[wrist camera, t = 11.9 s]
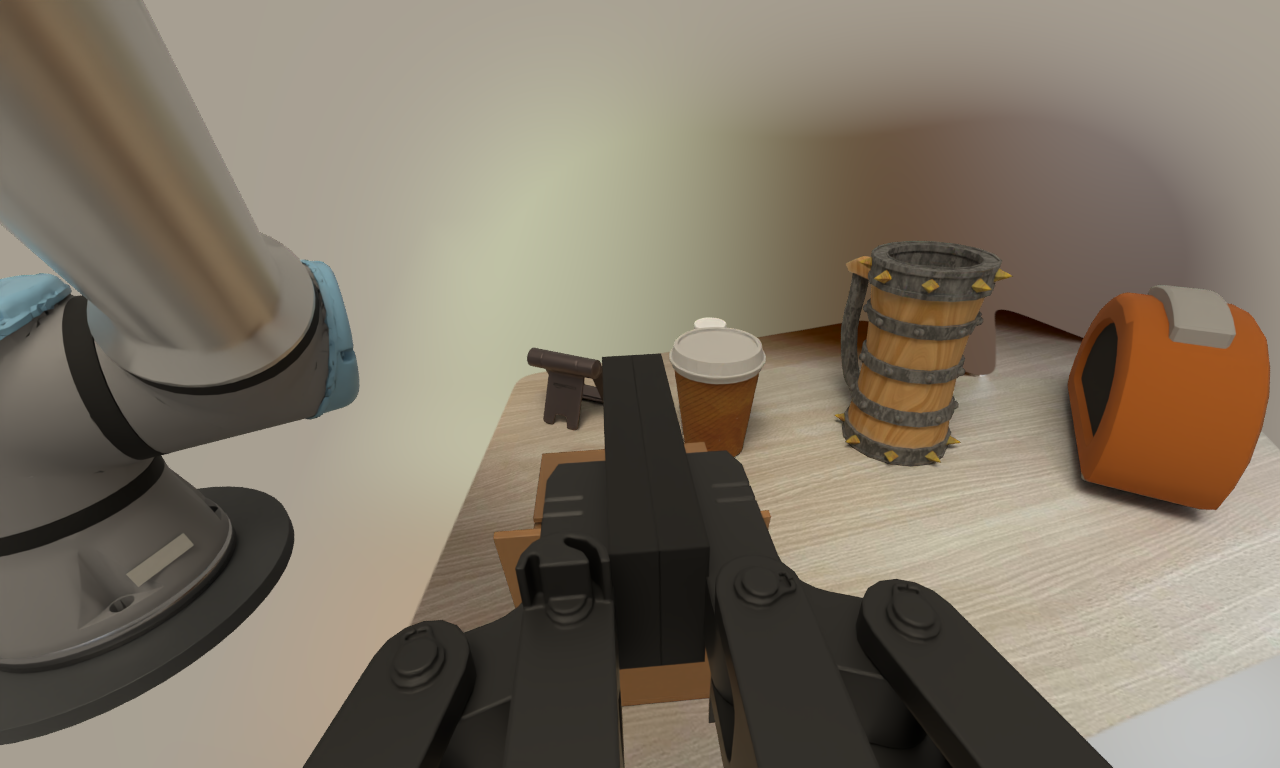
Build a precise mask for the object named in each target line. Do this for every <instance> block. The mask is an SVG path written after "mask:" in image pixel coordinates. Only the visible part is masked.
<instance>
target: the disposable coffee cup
mask: <svg viewBox="0 0 1280 768" xmlns="http://www.w3.org/2000/svg"><path fill="white" fill-rule="evenodd" d="M669 358H670V362H671V364H672V366H673V368H674V369H675V377H676V383H677V391H678V398H679V404H680V412H681V419H682V426H683V433H684V440H685V443H698V442H704V443H705V446H706V449H707V452H709V451H723V450H727V451H728V452H729V453H730V454H731V455H732V456H733V457H735V456H736V455H738V454H739V453H740V452H741V450H742V448H743V443H744V439H745V434H746V429H747V425H748V421H749V416H750V412H751V407H752V403H753V398H754V393H755V389H756V385H757V380H758V376H759V372H760V371H761V369H762V367H763V366H764V364H765V361H766V355H765V353H764V351H763V350H762V345H761V342H760V340H759V339H758V338H756V337H755V336H754V335H752V334H750V333H747V332H745V331H741V330H738V329H733V328H725V327H706V328H699V329H694V330H690V331H688V332H686V333H683V334H681V335H680V336H678V337H677V338H676V340H675V342H674V346H673V348H672V350H671V351H670V354H669Z"/></svg>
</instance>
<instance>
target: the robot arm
mask: <svg viewBox="0 0 1280 768" xmlns="http://www.w3.org/2000/svg"><path fill="white" fill-rule="evenodd" d="M0 224H1V225H2V226H3V227H5V228H6V229H7V230H8V231H9V232H10V233H11V234H13V235H14V236H15V237H16V238H17V239H18V240H20V241H21V242H22V243H23V244H24V245H25V246H26V247H28V248H29V249H30V250H31V251H32V252H33V253H35V254H36V255H37V256H38V257H39V258H40V259H42V260H43V261H44V262H45V263H46V264H47V265H48V266H50V267H51V268H52V269H53V270H54V271H55V272H56V273H58V274H59V275H60V276H61V277H62V278H63V279H65V280H66V281H67V282H68V283H69V284H70V285H71V286H73V287H74V288H75V289H76V290H77V291H78V292H80V293H81V294H82V296H73V295H71V288H70V286H69V285H67V284H64V283H63V282H62V281H61V280H60V279H59V278H58V277H57V276H54V275H51V274H43V273H39V274H36V275H21V276H14V277H9V278H4V279H0V671H3V672H8V673H36V672H43V671H49V670H54V669H59V668H63V667H66V666H70V665H74V664H77V663H80V662H83V661H86V660H89V659H92V658H94V657H97V656H100V655H102V654H105V653H107V652H109V651H112V650H114V649H116V648H119V647H121V646H123V645H125V644H127V643H129V642H131V641H133V640H135V639H137V638H139V637H141V636H142V635H144V634H146V633H148V632H149V631H151V630H153V629H155V628H156V627H158V626H159V625H161V624H163V623H164V622H166V621H167V620H169V619H170V618H172V617H173V616H175V615H176V614H178V613H179V612H180V611H182V610H183V609H184V608H186V607H187V606H188V605H190V604H191V603H192V602H193V601H194V600H196V599H197V598H198V597H199V596H200V595H201V594H202V593H203V592H205V591H206V590H207V589H208V588H209V587H210V586H211V585H212V584H213V583H214V582H215V580H216V579H217V578H218V577H219V576H220V575H221V573H222V572H223V571H224V569H225V568H226V567H227V565H228V563H229V562H230V560H231V558H232V556H233V554H234V551H235V548H236V543H237V535H236V531H235V529H234V527H233V525H232V523H231V521H230V519H229V518H228V516H227V514H226V513H225V512H224V511H223V510H222V509H221V508H220V507H219V506H218V505H217V504H216V503H215V502H213V501H212V500H210V499H208V498H206V497H204V496H203V495H202V494H201V493H200V492H199V491H198V490H197V489H196V488H195V487H193V486H192V485H191V484H190V483H188V482H187V481H186V480H184V479H183V478H182V477H180V476H179V475H178V474H176V473H175V472H174V471H173V470H171V469H170V468H169V467H168V466H167V464H166V463H165V461H164V459H163V458H162V456H161V455H164V454H169V453H171V452H175V451H179V450H183V449H187V448H191V447H195V446H199V445H203V444H207V443H211V442H214V441H219V440H222V439H226V438H230V437H234V436H238V435H242V434H246V433H250V432H254V431H258V430H262V429H266V428H270V427H273V426H277V425H281V424H285V423H289V422H293V421H297V420H301V419H314V418H317V417H320V416H321V415H323V413H326V412H329V411H332V410H336V409H339V408H343V407H345V406H347V405H349V404H350V403H352V402H353V401H354V400H355V398H356V397H357V395H358V392H359V373H358V366H357V360H356V356H355V352H354V351H353V342H352V334H351V330H350V325H349V321H348V317H347V313H346V309H345V306H344V302H343V299H342V295H341V292H340V289H339V286H338V283H337V280H336V278H335V275H334V273H333V271H332V270H331V268H330V267H329V266H328V265H326V264H325V263H324V262H320V261H308V260H300V259H299V258H298V257H297V256H296V255H295V254H294V253H293V252H292V251H291V250H290V249H289V248H287V247H286V246H284V245H283V244H282V243H280V242H278V241H277V240H275V239H273V238H271V237H269V236H267V235H265V234H263V233H260V232H259V230H258V228H257V226H256V224H255V222H254V220H253V218H252V216H251V214H250V212H249V210H248V208H247V206H246V204H245V202H244V200H243V198H242V196H241V194H240V193H239V190H238V188H237V186H236V184H235V182H234V180H233V178H232V176H231V174H230V172H229V171H228V168H227V166H226V165H225V163H224V160H223V158H222V157H221V154H220V152H219V150H218V148H217V147H216V145H215V143H214V141H213V139H212V137H211V135H210V133H209V131H208V129H207V127H206V125H205V123H204V121H203V119H202V117H201V115H200V113H199V111H198V109H197V107H196V105H195V103H194V101H193V99H192V97H191V95H190V93H189V91H188V89H187V87H186V85H185V83H184V81H183V79H182V77H181V75H180V73H179V71H178V69H177V67H176V65H175V63H174V61H173V59H172V57H171V55H170V53H169V51H168V49H167V47H166V45H165V43H164V41H163V39H162V37H161V35H160V33H159V31H158V29H157V27H156V25H155V23H154V21H153V19H152V17H151V15H150V14H149V11H148V10H147V8H146V6H145V4H144V2H143V0H0ZM602 373H603V405H604V437H605V461H591V462H577V463H562V464H558V465H557V467H556V468H555V470H554V471H553V472H552V474H551V475H550V477H549V478H548V479H547V482H546V491H545V503H544V507H543V518H542V524H541V532H540V539H538V540H536V541H534V542H532V543H531V544H530V545H529V547H528V548H527V549H526V550H525V551H524V552H523V553H522V554H521V555H520V558H519V560H518V563H517V565H516V567H515V571H516V575H517V580H518V585H519V590H520V595H521V600H522V603H521V604H520V605H519V606H518V607H517V608H516V609H514V610H513V611H512V612H510V613H509V614H507V615H506V616H504V617H502V618H500V619H498V620H496V621H494V622H492V623H489V624H486V625H484V626H481V627H478V628H476V629H473V630H470V631H468V632H465V633H463V632H462V630H461V629H460V628H459V627H458V626H457V625H455V624H452V623H449V622H446V621H443V620H436V621H423V622H420V623H418V624H415V625H412V626H409V627H407V628H405V629H403V630H402V631H400V632H399V633H397V634H396V635H394V636H393V637H392V638H390V639H389V640H387V642H386V643H385V644H384V645H383V646H382V647H381V649H380V650H379V651H378V652H377V653H376V654H375V655H374V657H373V659H372V660H371V662H370V663H369V665H368V666H367V668H366V669H365V671H364V672H363V674H362V675H361V677H360V679H359V680H358V682H357V683H356V685H355V686H354V688H353V690H352V691H351V693H350V694H349V696H348V698H347V699H346V701H345V702H344V704H343V705H342V707H341V709H340V710H339V711H338V713H337V715H336V716H335V718H334V719H333V721H332V722H331V724H330V726H329V727H328V729H327V730H326V732H325V733H324V735H323V737H322V738H321V740H320V741H319V743H318V744H317V746H316V747H315V749H314V751H313V752H312V754H311V755H310V757H309V758H308V760H307V761H306V763H305V765H304V766H303V768H625V763H624V742H623V721H622V702H621V690H620V671H619V670H621V669H632V668H643V667H654V666H665V665H676V664H687V663H698V662H705V648H706V652H707V657H708V662H709V667H710V672H711V679H710V697H709V723H714V722H715V724H716V729H717V734H718V740H719V745H720V750H721V756H722V761H723V766H724V768H1113V767H1112V766H1111V765H1110V764H1109V763H1108V762H1107V761H1106V760H1105V759H1104V758H1103V757H1102V756H1101V755H1100V754H1099V753H1098V752H1097V751H1096V750H1095V749H1094V748H1093V747H1092V746H1091V745H1090V744H1089V743H1088V742H1087V741H1086V740H1085V739H1084V738H1083V737H1082V736H1081V735H1080V734H1079V733H1078V732H1077V731H1076V730H1075V729H1074V728H1073V727H1072V726H1071V725H1070V724H1069V723H1068V722H1067V721H1066V720H1065V719H1064V718H1063V717H1062V716H1061V715H1060V714H1059V713H1058V712H1057V711H1056V710H1055V709H1054V708H1053V707H1052V706H1051V705H1050V704H1049V703H1048V702H1047V701H1046V700H1045V699H1044V698H1043V697H1042V696H1041V695H1040V693H1039V692H1038V691H1037V690H1036V689H1035V688H1034V687H1033V686H1032V685H1031V684H1030V683H1029V682H1028V681H1027V680H1026V679H1025V678H1024V677H1023V676H1022V675H1021V674H1020V673H1019V672H1018V671H1017V670H1016V669H1015V668H1014V667H1013V666H1012V665H1011V664H1010V663H1009V662H1008V661H1007V660H1006V659H1005V658H1004V657H1003V656H1002V655H1001V654H1000V653H999V652H998V651H997V650H996V649H995V648H994V647H993V646H992V645H991V644H990V643H989V642H988V641H987V640H986V639H985V638H984V637H983V636H982V635H981V634H980V633H979V632H978V631H977V630H976V629H975V628H974V627H973V626H972V625H971V624H970V623H969V622H968V621H967V620H966V619H965V618H964V617H963V616H962V615H961V614H960V613H959V612H958V611H957V610H956V609H955V608H954V607H953V606H952V605H951V604H950V603H949V602H947V601H946V600H945V599H943V598H942V597H941V596H940V595H938V594H937V593H936V592H934V591H933V590H931V589H928V588H926V587H924V586H922V585H920V584H917V583H915V582H910V581H904V580H899V579H892V580H884V581H879V582H877V583H876V584H874V585H872V586H871V587H869V588H868V589H867V591H866V593H865V595H864V597H863V598H860V597H855V596H850V595H845V594H840V593H834V592H829V591H826V590H822V589H819V588H815V587H813V586H811V585H809V584H807V583H805V582H803V581H801V580H800V579H799V578H798V576H797V575H796V573H795V572H794V571H793V570H792V569H790V568H789V567H788V566H786V565H785V564H784V563H782V562H781V560H780V558H779V556H778V554H777V552H776V549H775V547H774V544H773V541H772V539H771V536H770V534H769V531H768V529H767V526H766V524H765V521H764V519H763V516H762V514H761V511H760V509H759V506H758V504H757V501H756V500H755V496H754V493H753V491H752V488H751V486H749V481H748V478H747V476H746V473H745V471H744V468H743V466H742V464H741V463H740V462H739V461H738V460H737V459H735V458H734V457H733V456H732V455H731V454H730V453H729V452H728V451H727V450H723V451H709V452H695V453H686V450H685V446H684V442H683V438H682V434H681V430H680V426H679V422H678V418H677V415H676V411H675V407H674V403H673V399H672V395H671V391H670V387H669V383H668V379H667V375H666V371H665V367H664V363H663V360H662V356H661V354H646V355H645V354H644V355H628V356H612V357H602Z"/></svg>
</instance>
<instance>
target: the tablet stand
mask: <svg viewBox="0 0 1280 768" xmlns="http://www.w3.org/2000/svg"><path fill="white" fill-rule="evenodd" d="M527 361H528V364H529V365H530V366H535V367H539V368H544V369H546V371H547V373H548V374H549V377H548V385H547V394H546V402H545V411H544V418H543V419H544V421H545V422H546V423H550V424H553V423H554V420H555V416H556V414H558V415H562V416H566V418H567V428H569V429H573V430H576V429H577V428H578V424H579V417H580V409H581V401H582V398H584V399H588V400H592V401H597V402H601V403H603V373H602V366H601V363H600V361H599V360H595V359H589V358H584V357H579V356H574V355H569V354H563V353H558V352H553V351H548V350H543V349H538V348H532V349H531V350H530V351H529V353H528V356H527ZM585 377H586V378H591V379H593V381H594V383H595V385H596V387H594V386H589V385H585V384H584V378H585Z"/></svg>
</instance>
